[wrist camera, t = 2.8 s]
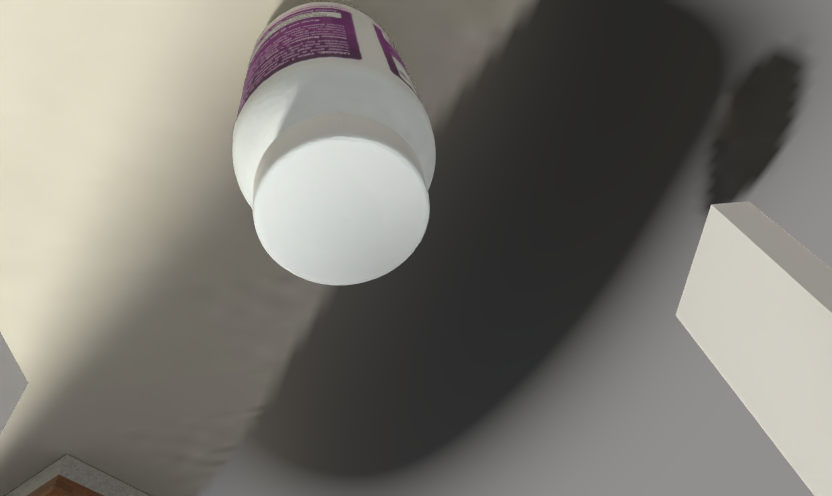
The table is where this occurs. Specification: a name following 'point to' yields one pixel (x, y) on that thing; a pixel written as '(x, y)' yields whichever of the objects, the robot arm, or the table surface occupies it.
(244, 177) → the pill bottle
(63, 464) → the white notched tower
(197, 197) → the table surface
